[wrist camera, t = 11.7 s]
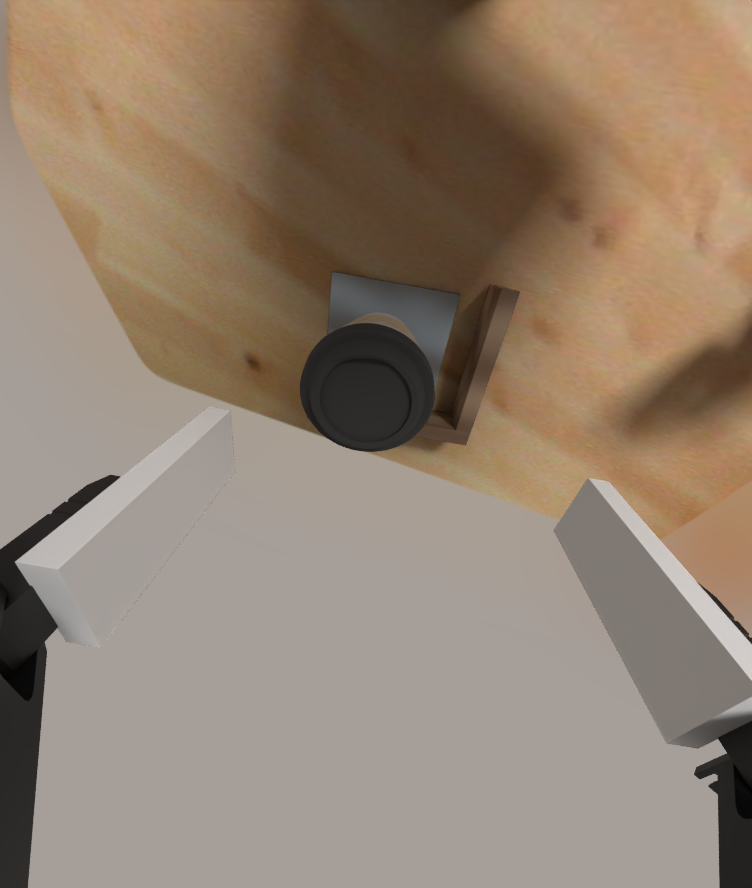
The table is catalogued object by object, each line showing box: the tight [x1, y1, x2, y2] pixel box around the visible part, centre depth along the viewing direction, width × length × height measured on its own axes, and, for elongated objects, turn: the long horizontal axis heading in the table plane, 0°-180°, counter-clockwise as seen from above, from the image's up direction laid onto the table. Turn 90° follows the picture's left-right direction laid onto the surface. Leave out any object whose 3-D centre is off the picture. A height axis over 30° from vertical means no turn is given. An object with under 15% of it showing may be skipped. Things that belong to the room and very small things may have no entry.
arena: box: [307, 272, 520, 445], centre depth 31 cm, size 15×17×4 cm
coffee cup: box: [300, 312, 435, 452], centre depth 26 cm, size 9×9×15 cm
